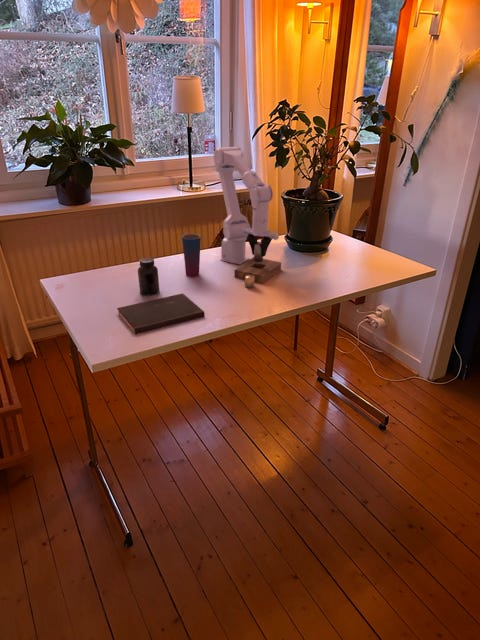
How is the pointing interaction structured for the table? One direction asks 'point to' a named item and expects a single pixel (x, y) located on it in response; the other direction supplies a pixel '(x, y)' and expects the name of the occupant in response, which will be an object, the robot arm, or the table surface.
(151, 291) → the supplement bottle
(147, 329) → the hardcover book
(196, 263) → the cup
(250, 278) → the short brass peg
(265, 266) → the walnut board
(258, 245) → the long steel peg
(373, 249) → the table surface
